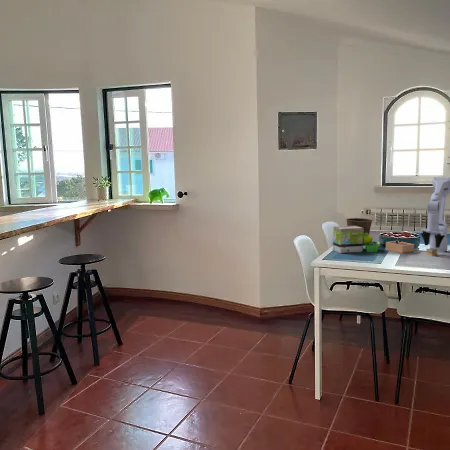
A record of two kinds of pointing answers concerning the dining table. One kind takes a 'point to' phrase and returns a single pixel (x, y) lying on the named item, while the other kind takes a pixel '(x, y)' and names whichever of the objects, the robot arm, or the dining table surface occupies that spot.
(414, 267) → the dining table surface
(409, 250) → the terracotta box
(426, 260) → the dining table surface
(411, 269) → the dining table surface
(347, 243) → the tea box
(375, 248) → the fruit basket
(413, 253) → the slate tray
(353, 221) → the plant pot
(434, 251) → the oak block
